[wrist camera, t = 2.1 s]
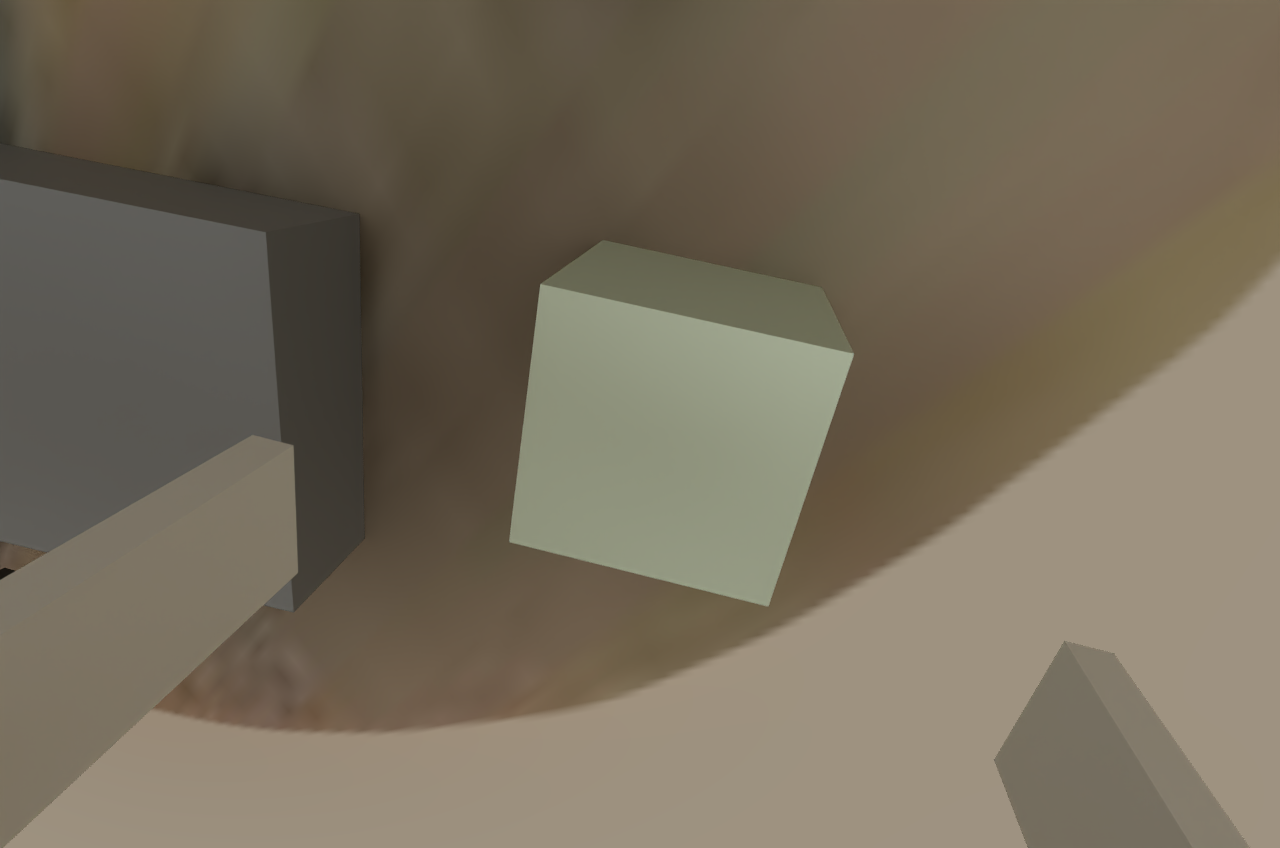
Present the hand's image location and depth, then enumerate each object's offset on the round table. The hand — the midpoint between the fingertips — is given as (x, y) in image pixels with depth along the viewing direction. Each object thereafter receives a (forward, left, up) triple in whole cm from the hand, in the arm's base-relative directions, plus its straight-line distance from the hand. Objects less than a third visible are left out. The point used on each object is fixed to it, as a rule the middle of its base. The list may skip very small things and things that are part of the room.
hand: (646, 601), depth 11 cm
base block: (-18, -4, -12) cm, 22 cm away
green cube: (0, 0, -12) cm, 12 cm away
